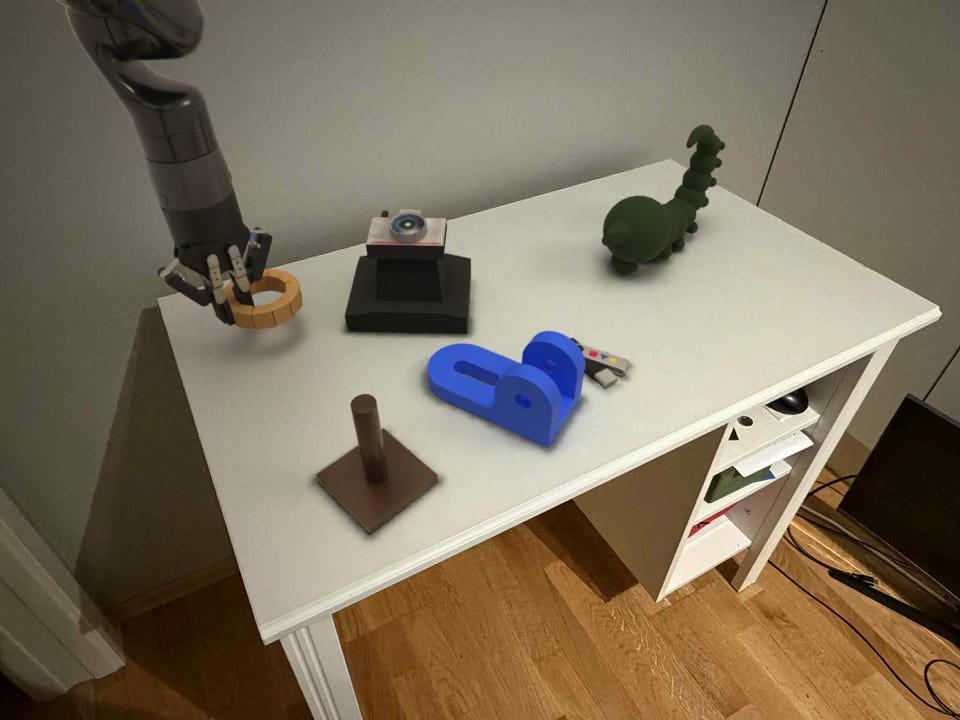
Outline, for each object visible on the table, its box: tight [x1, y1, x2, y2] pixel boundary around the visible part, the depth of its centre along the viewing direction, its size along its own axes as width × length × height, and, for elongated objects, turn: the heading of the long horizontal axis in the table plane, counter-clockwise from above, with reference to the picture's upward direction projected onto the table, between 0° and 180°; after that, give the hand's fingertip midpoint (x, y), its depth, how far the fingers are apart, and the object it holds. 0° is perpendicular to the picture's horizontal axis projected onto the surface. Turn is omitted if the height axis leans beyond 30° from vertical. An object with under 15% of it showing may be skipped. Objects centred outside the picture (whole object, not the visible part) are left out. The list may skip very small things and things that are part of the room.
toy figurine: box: [601, 124, 726, 275], centre depth 92 cm, size 9×19×25 cm
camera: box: [344, 209, 472, 335], centre depth 84 cm, size 16×14×15 cm
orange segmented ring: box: [223, 268, 304, 331], centre depth 79 cm, size 9×9×2 cm
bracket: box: [427, 330, 586, 448], centre depth 73 cm, size 18×8×9 cm, turn 59°
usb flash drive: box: [569, 337, 630, 388], centre depth 80 cm, size 9×5×1 cm, turn 33°
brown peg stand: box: [315, 393, 439, 535], centre depth 63 cm, size 9×9×12 cm
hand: (237, 317), depth 78 cm, fingers closed on orange segmented ring, 1 cm apart
